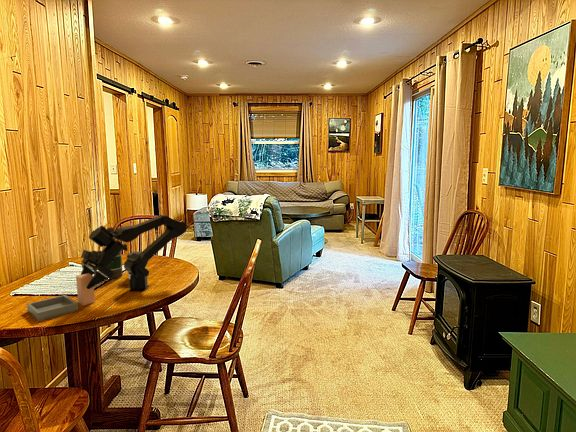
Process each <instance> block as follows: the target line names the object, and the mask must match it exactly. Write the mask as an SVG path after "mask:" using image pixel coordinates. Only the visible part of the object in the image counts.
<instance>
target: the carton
mask: <svg viewBox="0 0 576 432" xmlns="http://www.w3.org/2000/svg"><path fill="white" fill-rule="evenodd" d="M93 276H94V274H93V275H91V274H89V273H87V274H83V275H81V274H78V275H75V278H76V291H77V303H78V304H79V305H81V306H87V305H91V304H94V303H96V299H95V298H96V297H95V296H96V295H95V286H94V287H92V288H90V289H87V288H86V287H87V285H88V284H89V282H90V281H91V279H92V278H93Z"/></svg>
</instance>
